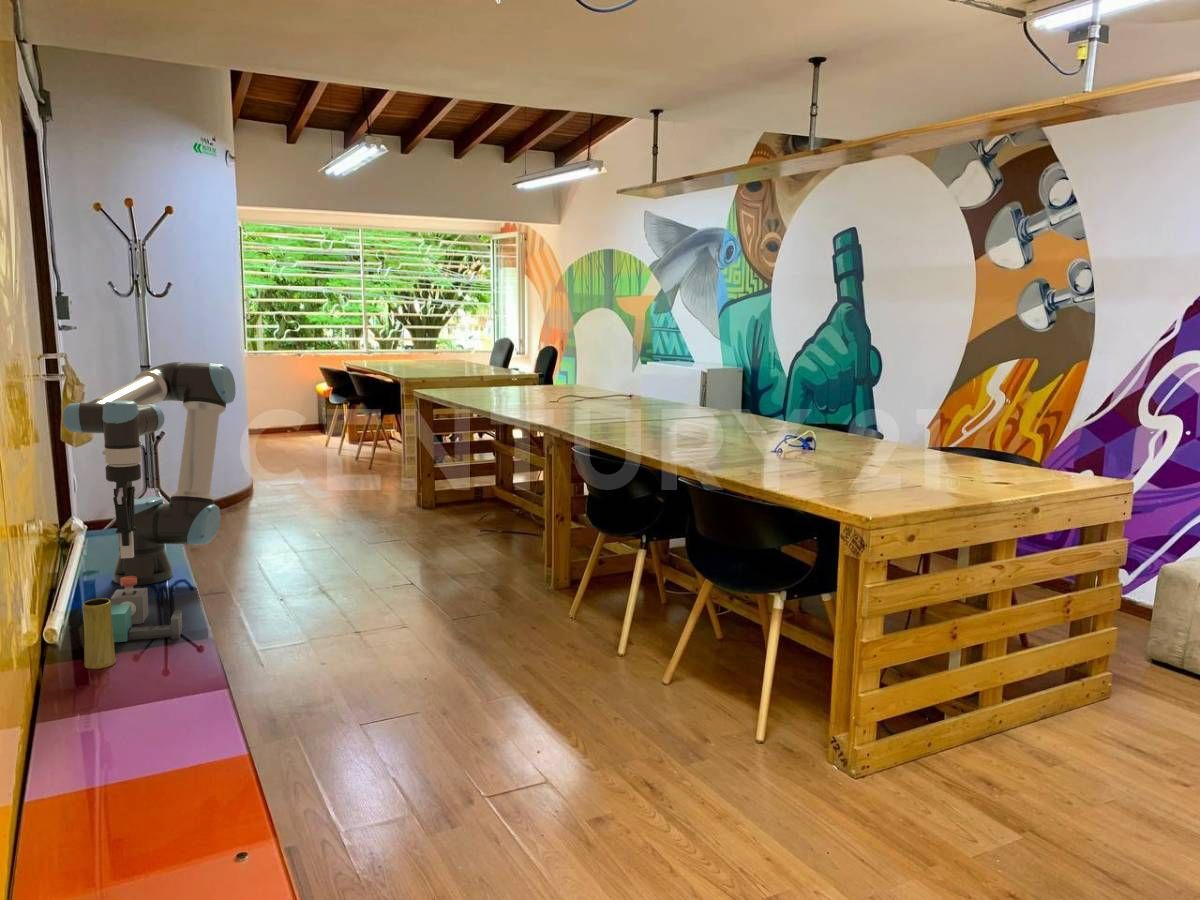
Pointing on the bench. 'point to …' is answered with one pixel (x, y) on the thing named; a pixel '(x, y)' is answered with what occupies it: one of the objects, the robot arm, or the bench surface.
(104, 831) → the bench surface
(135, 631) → the rail
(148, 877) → the bench surface
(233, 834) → the bench surface
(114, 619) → the block
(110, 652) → the vase
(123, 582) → the red ball knob
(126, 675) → the bench surface
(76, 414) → the robot arm
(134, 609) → the grey cube housing
